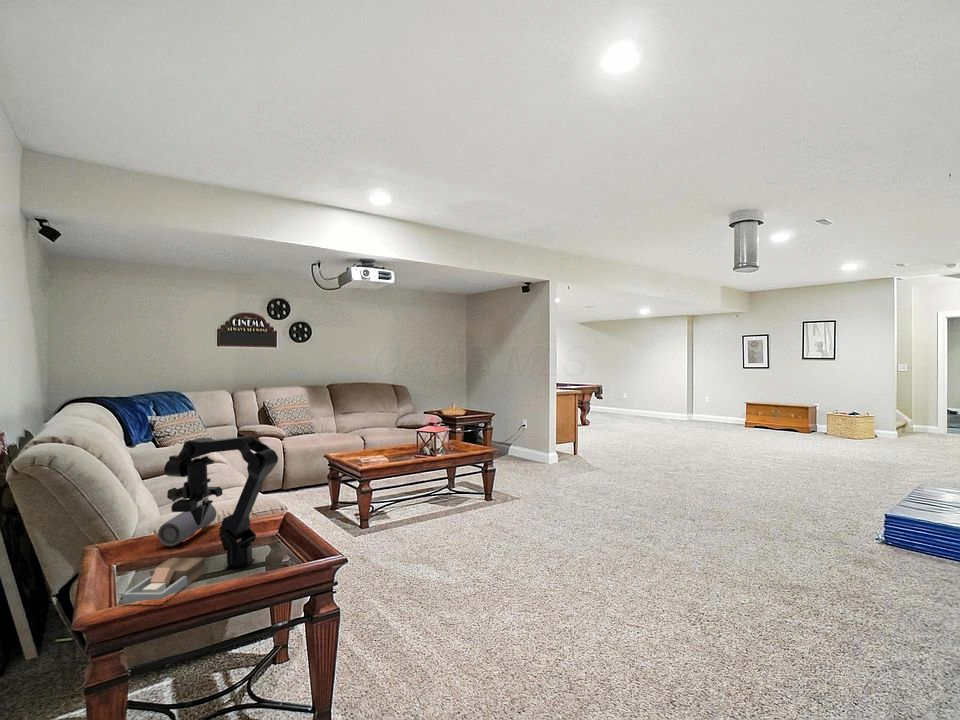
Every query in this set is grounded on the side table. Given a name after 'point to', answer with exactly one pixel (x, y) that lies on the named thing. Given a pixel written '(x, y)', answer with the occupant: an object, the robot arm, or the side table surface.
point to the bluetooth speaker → (183, 527)
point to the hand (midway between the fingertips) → (199, 524)
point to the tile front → (154, 588)
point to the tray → (137, 594)
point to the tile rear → (162, 575)
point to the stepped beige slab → (183, 568)
